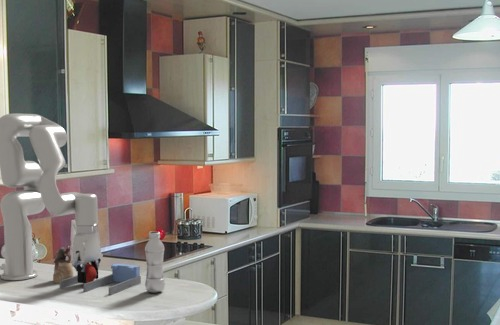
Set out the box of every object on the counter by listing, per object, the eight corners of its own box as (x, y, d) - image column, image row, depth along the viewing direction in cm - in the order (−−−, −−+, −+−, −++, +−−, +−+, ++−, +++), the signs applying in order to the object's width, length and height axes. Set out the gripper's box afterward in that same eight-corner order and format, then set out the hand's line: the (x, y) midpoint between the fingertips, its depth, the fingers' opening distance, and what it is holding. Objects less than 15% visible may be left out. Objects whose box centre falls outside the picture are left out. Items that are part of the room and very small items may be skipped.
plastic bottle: (141, 293, 200) (140, 233, 199) (152, 288, 206) (151, 230, 205) (158, 295, 198) (157, 234, 197) (168, 290, 204) (168, 231, 203)
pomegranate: (76, 284, 212) (76, 261, 212) (91, 281, 216) (90, 259, 216) (84, 287, 208) (84, 264, 208) (99, 284, 212) (99, 261, 212)
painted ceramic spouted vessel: (60, 277, 223) (59, 245, 222) (77, 278, 221) (77, 246, 220) (49, 282, 216) (48, 248, 215) (66, 283, 214) (65, 249, 213)
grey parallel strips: (59, 288, 207) (59, 281, 207) (92, 277, 223) (91, 270, 223) (110, 295, 199) (110, 287, 198) (140, 282, 214) (140, 275, 214)
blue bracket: (109, 282, 215) (109, 265, 215) (115, 280, 218) (115, 263, 218) (134, 285, 211) (133, 268, 211) (139, 282, 214) (139, 266, 214)
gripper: (94, 225, 221) (95, 274, 222) (61, 232, 205) (62, 285, 206) (111, 226, 217) (112, 276, 219) (78, 234, 202) (80, 287, 203)
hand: (88, 280), depth 212 cm, fingers closed on pomegranate, 5 cm apart
